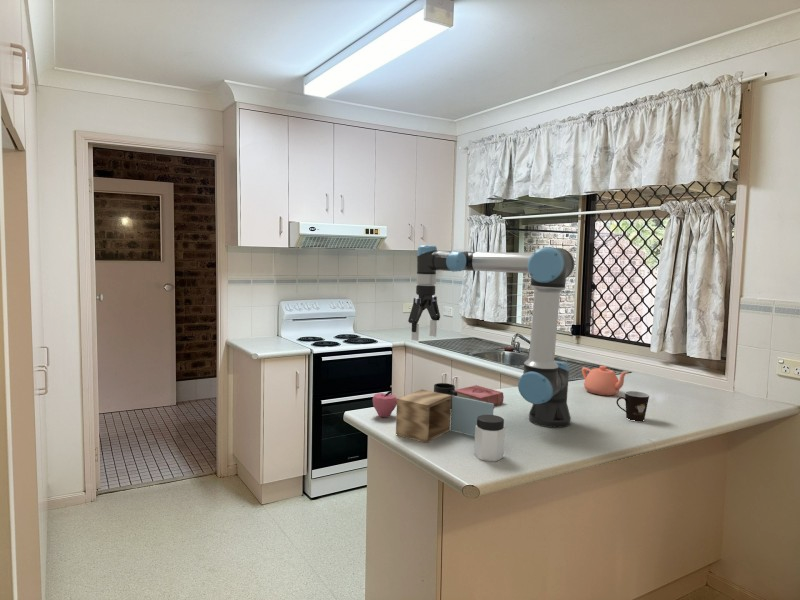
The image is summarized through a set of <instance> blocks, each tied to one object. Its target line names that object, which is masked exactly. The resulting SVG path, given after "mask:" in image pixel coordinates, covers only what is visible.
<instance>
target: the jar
mask: <svg viewBox="0 0 800 600" xmlns="http://www.w3.org/2000/svg"><path fill="white" fill-rule="evenodd" d="M504 424H505V419H504V418H503V417H502V416H499V415H494V414H493V415H480V416H478V417H477V425H476V426H475V436H474V445H473V446H474V447H473V448H474V451H473V455H474V456H475V457H477V458H478V459H479V460H480V461H487V462H498V461H500V460H502V459H503V458H504V455H505V453H504V452H505V437H506V434H505V433H506V427H504V426H505V425H504Z"/></svg>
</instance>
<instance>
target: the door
mask: <svg viewBox="0 0 800 600" xmlns="http://www.w3.org/2000/svg"><path fill="white" fill-rule="evenodd" d="M494 409H495V406H494V404H493V403H488V402H483V401H478V400H473V399H468V398H463V397H458V396H455V395H452V403H451V416H450V430H449V431H451V432H452V431H453V432H458V433H461V434H466V435H471V436H474V437H475V426H476V425H477V417H478V416H480V415H494Z"/></svg>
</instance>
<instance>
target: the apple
mask: <svg viewBox="0 0 800 600" xmlns="http://www.w3.org/2000/svg"><path fill="white" fill-rule="evenodd" d="M397 399H398V398H397V397H396V395H394V394H392V391H391V390H389V391H387V393H384V392H383V393H382V392H379V393H375V394H374V395H373V397H372V405H373V408H374V410H375V412H376V413H377V415H378V416H379V417H380V418H389V417H391V416H392V413H393V412H394V410H395V408H397Z"/></svg>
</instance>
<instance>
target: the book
mask: <svg viewBox="0 0 800 600" xmlns="http://www.w3.org/2000/svg"><path fill="white" fill-rule="evenodd" d="M455 391H456V392H457V396H458V397H463V398H468V399H473V400H478V401H483V402H488V403H493V404H494V407H495V406H498V405H502V404H503V403H504V398H505V397H504V392H502V391H499V390H495V389H492V388H488V387H485V386H480V385H477V384H476V385H471V386H466V387H462V388H457V389H455Z"/></svg>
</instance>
